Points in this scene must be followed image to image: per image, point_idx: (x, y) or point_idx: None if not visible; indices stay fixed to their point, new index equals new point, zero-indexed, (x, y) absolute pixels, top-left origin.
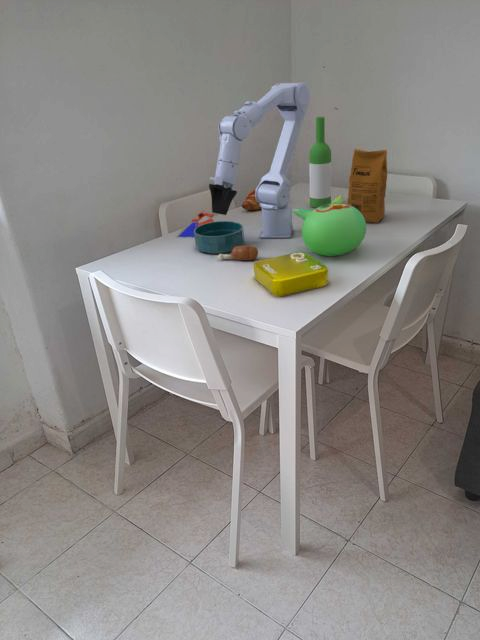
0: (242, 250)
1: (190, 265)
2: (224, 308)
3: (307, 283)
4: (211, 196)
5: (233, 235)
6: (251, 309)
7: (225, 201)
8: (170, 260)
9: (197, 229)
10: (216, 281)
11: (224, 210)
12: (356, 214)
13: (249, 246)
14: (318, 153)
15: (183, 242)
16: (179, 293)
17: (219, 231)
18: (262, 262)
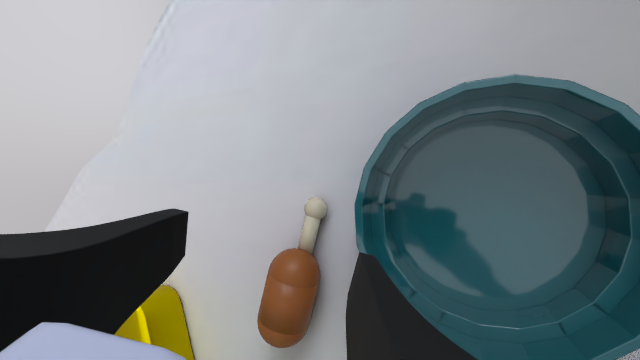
0: (264, 291)
1: (298, 100)
2: (72, 196)
3: None
4: (62, 231)
5: None
6: None
7: (358, 356)
8: (364, 15)
9: (566, 94)
10: (177, 184)
11: (350, 303)
12: None
13: (268, 325)
14: None
15: (616, 21)
16: (139, 94)
17: (626, 227)
18: (126, 325)
